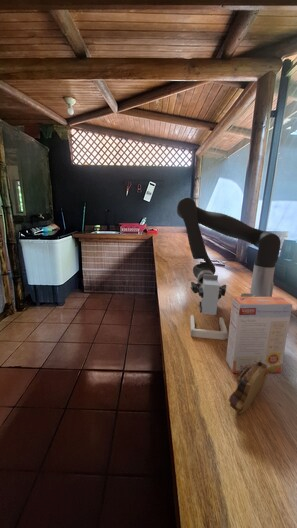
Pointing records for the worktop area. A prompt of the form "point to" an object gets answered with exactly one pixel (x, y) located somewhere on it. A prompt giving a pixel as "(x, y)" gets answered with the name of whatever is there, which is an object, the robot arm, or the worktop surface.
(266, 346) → the cracker box
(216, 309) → the grey tall block
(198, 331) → the bay
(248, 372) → the wooden carving
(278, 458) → the worktop surface
